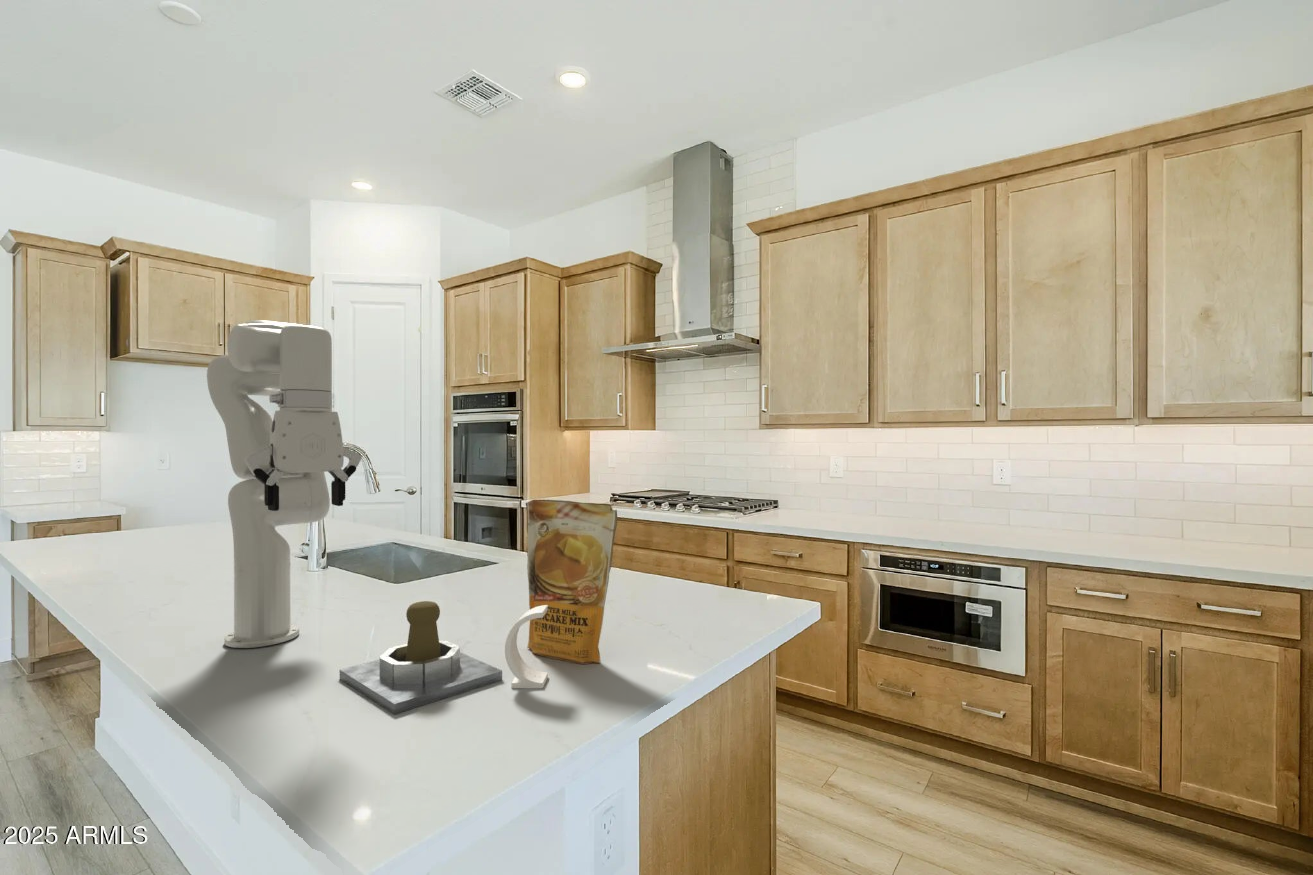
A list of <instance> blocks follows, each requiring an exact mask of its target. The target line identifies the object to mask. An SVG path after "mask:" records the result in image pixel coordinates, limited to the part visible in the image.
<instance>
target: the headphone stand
mask: <svg viewBox="0 0 1313 875" xmlns="http://www.w3.org/2000/svg"><path fill="white" fill-rule="evenodd" d="M547 610H548V605H542V606H538V607H535V608H532V609H530V608H529V609H528V610H527V611H526V612H525V613H523V614H522V615H521V616H520V618H519V619H517V621H516V622H515V623H514V625H513V626H512V628H511V629H510V630H509V633H508V634H507V636H506V639H505V642H504V643H505V644H504V655H505V661H506V664H507V666H508V668H509V670H510V671H511V673H512V674H513V675H514V678H513V680H512V682H511V689H544V686H545V684H546V683H547V681H548V679H549V678H548V677H549V672H546V671H540V670H537V669H535V668H533V667H531V666H529V665H528V664H527V663H526V662H525V661H524V659H523V658H522V656H521V654H520V652H519V647H518V644H517V642H518V633H519V631H520V628H521V626H524V624H525V623H527V622H530V620H532V619H536V618H543V616H544V615H545V613H546V612H547Z"/></svg>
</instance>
